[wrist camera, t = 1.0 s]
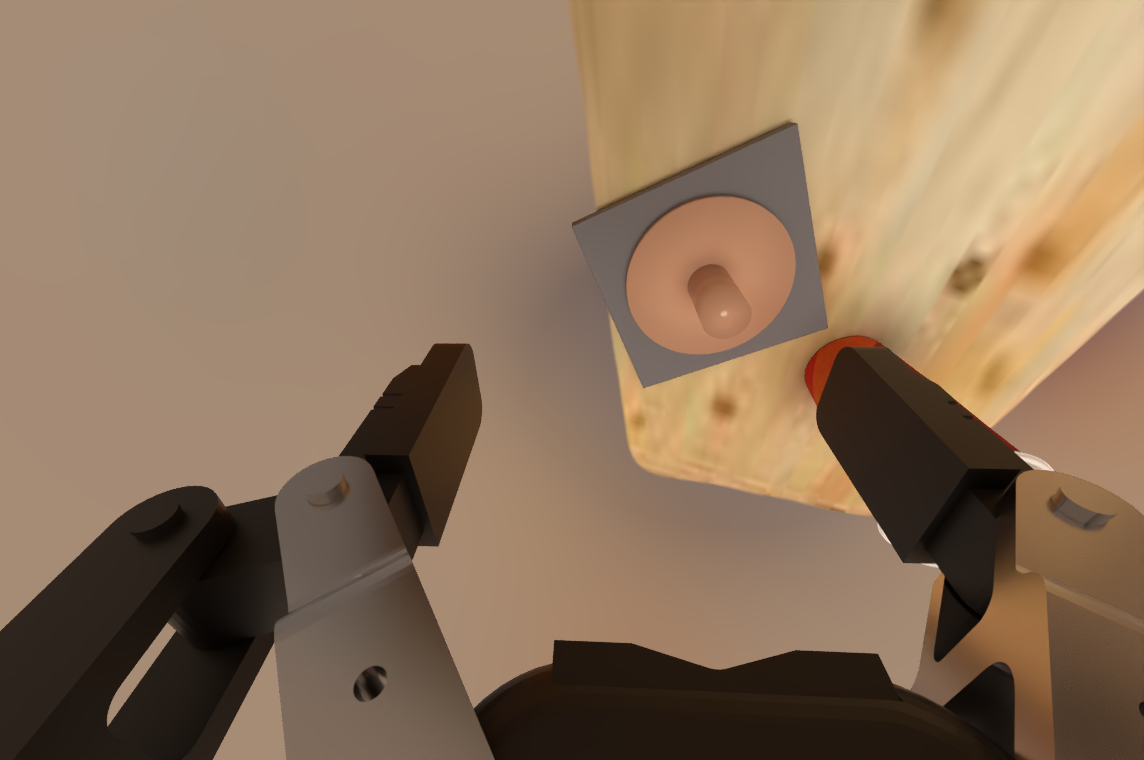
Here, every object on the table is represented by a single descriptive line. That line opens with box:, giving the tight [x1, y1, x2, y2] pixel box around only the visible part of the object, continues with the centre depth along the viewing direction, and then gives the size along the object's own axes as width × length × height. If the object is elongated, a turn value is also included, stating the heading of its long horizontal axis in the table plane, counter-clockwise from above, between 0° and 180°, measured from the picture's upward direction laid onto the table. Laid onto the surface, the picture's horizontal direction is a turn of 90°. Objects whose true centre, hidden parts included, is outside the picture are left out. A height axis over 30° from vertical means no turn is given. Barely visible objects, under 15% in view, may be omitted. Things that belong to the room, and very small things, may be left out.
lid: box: [626, 195, 796, 355], centre depth 27 cm, size 11×11×6 cm
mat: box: [572, 123, 828, 388], centre depth 30 cm, size 14×14×1 cm
